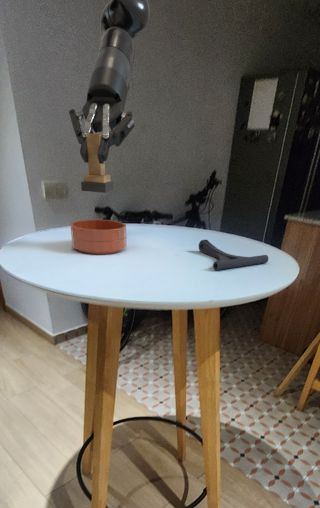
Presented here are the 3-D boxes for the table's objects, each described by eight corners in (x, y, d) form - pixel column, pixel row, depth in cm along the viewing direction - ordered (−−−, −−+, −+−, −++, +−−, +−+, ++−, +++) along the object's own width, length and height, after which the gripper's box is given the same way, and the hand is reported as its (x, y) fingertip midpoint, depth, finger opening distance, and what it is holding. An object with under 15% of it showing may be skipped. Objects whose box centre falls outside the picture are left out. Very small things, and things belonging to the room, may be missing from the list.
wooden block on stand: (81, 190, 75) (77, 132, 69) (90, 188, 79) (87, 133, 73) (105, 192, 74) (103, 134, 68) (113, 190, 78) (111, 134, 72)
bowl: (64, 251, 80) (61, 227, 77) (84, 240, 90) (82, 217, 87) (117, 257, 79) (116, 232, 76) (132, 245, 88) (132, 222, 85)
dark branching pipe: (223, 248, 90) (224, 236, 88) (267, 263, 80) (270, 250, 78) (175, 254, 83) (176, 241, 82) (217, 271, 73) (219, 257, 72)
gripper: (70, 63, 71) (51, 141, 69) (139, 65, 69) (122, 145, 67) (83, 101, 79) (66, 172, 76) (146, 104, 77) (130, 177, 74)
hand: (92, 159), depth 72 cm, fingers closed on wooden block on stand, 2 cm apart
